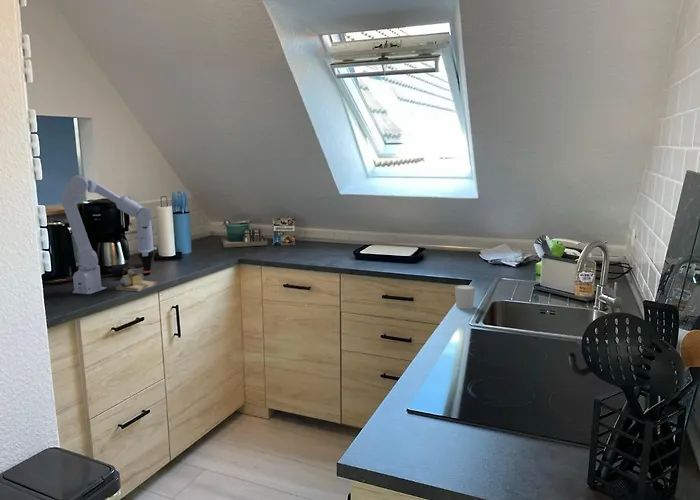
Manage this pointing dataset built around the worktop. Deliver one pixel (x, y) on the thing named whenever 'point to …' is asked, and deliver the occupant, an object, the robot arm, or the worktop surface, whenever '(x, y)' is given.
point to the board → (137, 286)
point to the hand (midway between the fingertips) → (147, 270)
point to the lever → (137, 271)
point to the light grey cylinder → (464, 296)
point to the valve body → (131, 280)
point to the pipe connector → (125, 269)
